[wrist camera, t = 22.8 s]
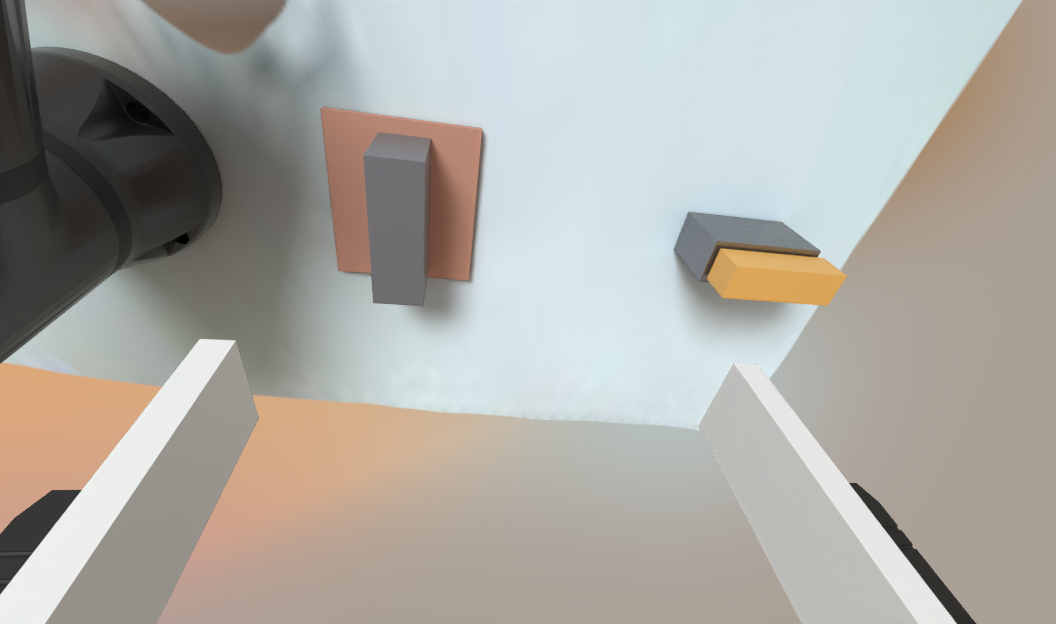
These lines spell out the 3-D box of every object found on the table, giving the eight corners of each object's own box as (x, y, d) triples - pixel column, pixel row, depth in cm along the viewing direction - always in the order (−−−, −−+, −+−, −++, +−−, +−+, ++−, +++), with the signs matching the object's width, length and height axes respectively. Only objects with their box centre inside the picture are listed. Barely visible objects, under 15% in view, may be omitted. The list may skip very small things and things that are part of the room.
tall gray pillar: (384, 266, 41) (373, 303, 36) (378, 132, 34) (363, 155, 29) (428, 269, 42) (423, 306, 37) (431, 138, 35) (424, 162, 30)
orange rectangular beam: (706, 278, 38) (722, 297, 36) (720, 248, 37) (737, 266, 34) (806, 286, 40) (827, 305, 38) (823, 258, 38) (847, 275, 36)
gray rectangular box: (674, 249, 44) (699, 281, 39) (688, 211, 41) (717, 240, 37) (763, 257, 45) (798, 289, 41) (781, 222, 43) (821, 251, 38)
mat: (340, 267, 41) (338, 270, 41) (322, 107, 33) (320, 108, 33) (468, 277, 43) (468, 280, 43) (481, 128, 35) (482, 130, 35)
